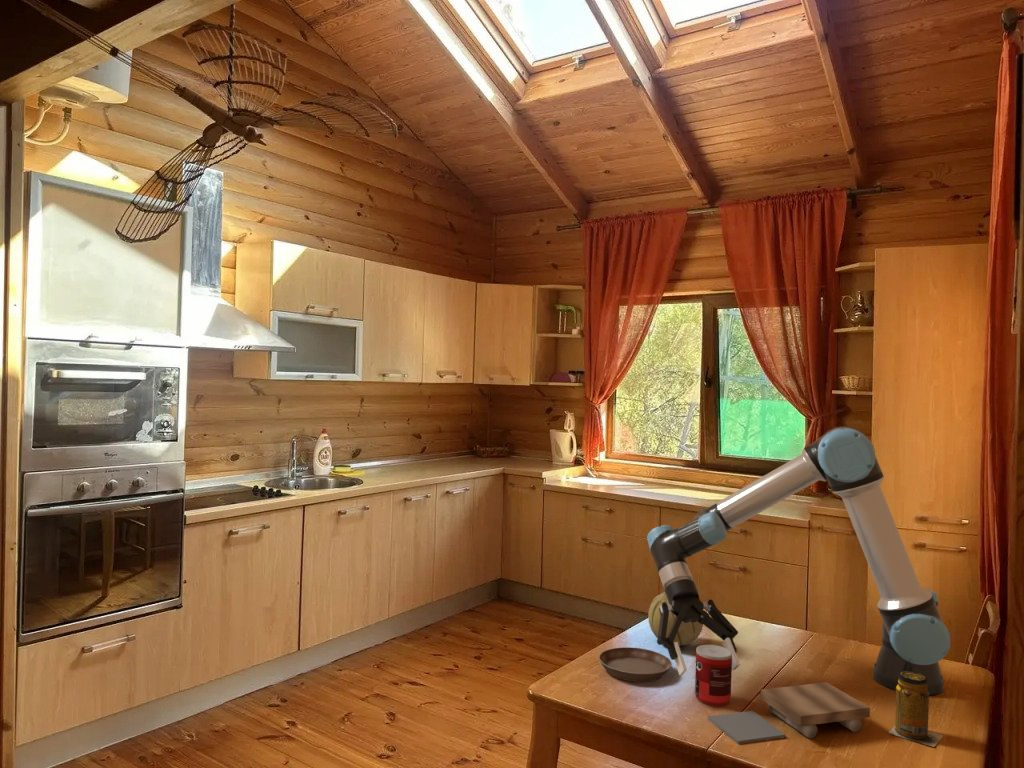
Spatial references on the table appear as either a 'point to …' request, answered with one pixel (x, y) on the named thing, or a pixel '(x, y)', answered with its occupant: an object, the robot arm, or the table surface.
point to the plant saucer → (635, 664)
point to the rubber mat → (746, 727)
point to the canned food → (713, 675)
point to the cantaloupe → (685, 631)
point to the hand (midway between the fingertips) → (710, 670)
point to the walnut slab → (815, 707)
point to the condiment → (913, 710)
